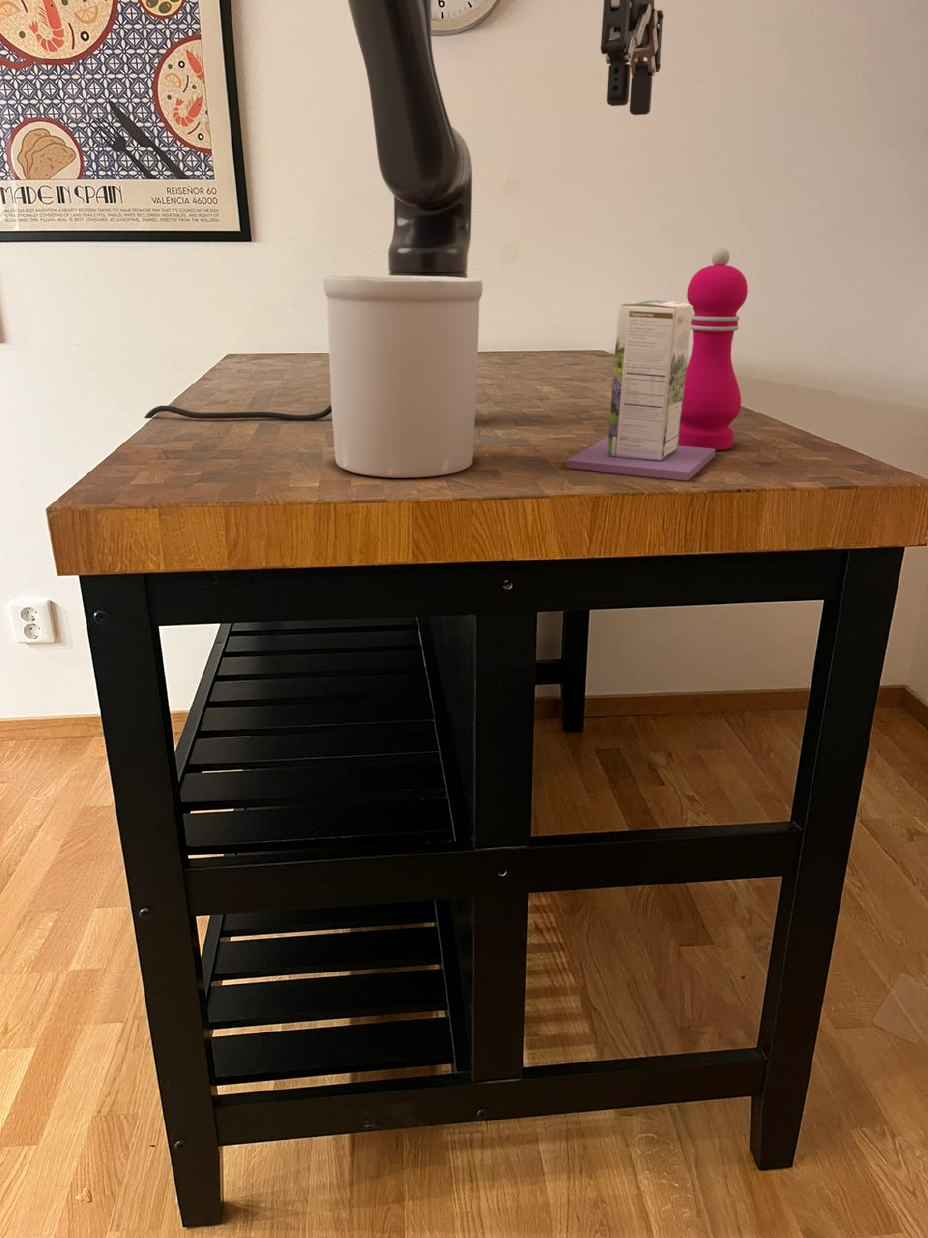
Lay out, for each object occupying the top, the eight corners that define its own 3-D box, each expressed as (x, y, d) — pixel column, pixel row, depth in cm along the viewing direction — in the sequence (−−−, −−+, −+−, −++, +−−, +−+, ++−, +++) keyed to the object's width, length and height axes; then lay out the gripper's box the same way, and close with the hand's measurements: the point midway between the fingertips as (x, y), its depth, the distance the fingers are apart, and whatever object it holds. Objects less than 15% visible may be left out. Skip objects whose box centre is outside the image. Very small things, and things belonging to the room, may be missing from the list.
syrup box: (624, 446, 97) (634, 299, 91) (680, 451, 94) (693, 301, 89) (606, 456, 92) (615, 302, 87) (664, 462, 90) (677, 303, 84)
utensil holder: (466, 446, 101) (467, 273, 94) (494, 477, 87) (497, 278, 81) (329, 450, 98) (320, 273, 92) (335, 483, 85) (325, 279, 78)
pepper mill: (738, 453, 97) (761, 248, 90) (668, 450, 99) (685, 248, 91) (734, 440, 104) (755, 248, 96) (668, 437, 105) (684, 247, 98)
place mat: (565, 468, 91) (566, 459, 91) (603, 445, 101) (603, 438, 101) (687, 480, 86) (688, 472, 86) (714, 456, 96) (715, 448, 96)
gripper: (624, -45, 104) (615, 119, 110) (582, -83, 92) (575, 103, 98) (691, -54, 101) (678, 115, 107) (657, -94, 89) (644, 99, 95)
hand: (628, 109), depth 102 cm, fingers open, 8 cm apart
